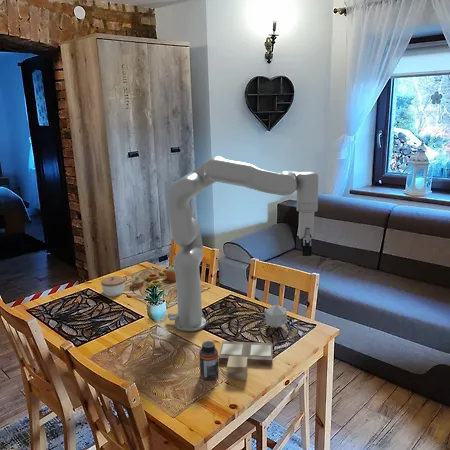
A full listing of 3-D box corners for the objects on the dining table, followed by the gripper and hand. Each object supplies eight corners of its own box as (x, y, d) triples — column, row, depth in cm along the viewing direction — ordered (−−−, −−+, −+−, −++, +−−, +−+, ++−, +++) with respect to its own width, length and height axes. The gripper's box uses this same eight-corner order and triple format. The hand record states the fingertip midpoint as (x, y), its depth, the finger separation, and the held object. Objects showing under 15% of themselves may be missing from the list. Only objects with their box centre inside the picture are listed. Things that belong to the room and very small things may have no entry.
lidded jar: (107, 290, 212) (106, 272, 210) (129, 291, 211) (127, 273, 209) (98, 299, 202) (96, 280, 200) (120, 300, 201) (119, 281, 198)
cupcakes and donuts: (166, 274, 234) (165, 256, 231) (187, 280, 224) (186, 262, 221) (127, 289, 214) (125, 270, 212) (147, 297, 204) (146, 277, 202)
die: (286, 334, 166) (287, 309, 164) (263, 332, 168) (263, 308, 166) (288, 323, 174) (288, 300, 172) (265, 322, 176) (265, 299, 174)
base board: (218, 362, 148) (218, 357, 147) (222, 346, 159) (222, 340, 158) (272, 365, 146) (272, 359, 145) (272, 348, 156) (272, 342, 156)
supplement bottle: (199, 370, 144) (198, 339, 141) (218, 369, 144) (217, 338, 141) (200, 381, 138) (199, 349, 135) (219, 380, 138) (218, 348, 136)
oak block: (227, 380, 138) (226, 366, 137) (229, 369, 144) (229, 356, 143) (246, 381, 138) (246, 367, 136) (247, 370, 143) (247, 356, 142)
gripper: (295, 201, 167) (295, 244, 171) (297, 211, 150) (296, 259, 154) (315, 201, 166) (314, 245, 170) (319, 211, 149) (318, 259, 153)
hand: (306, 251), depth 162 cm, fingers open, 9 cm apart
